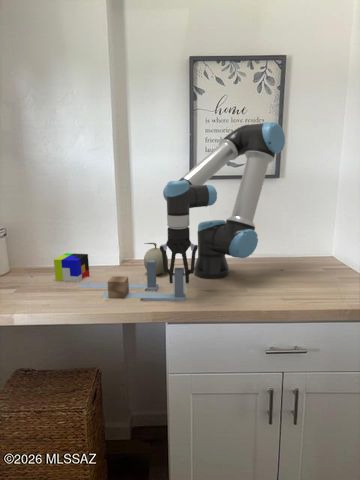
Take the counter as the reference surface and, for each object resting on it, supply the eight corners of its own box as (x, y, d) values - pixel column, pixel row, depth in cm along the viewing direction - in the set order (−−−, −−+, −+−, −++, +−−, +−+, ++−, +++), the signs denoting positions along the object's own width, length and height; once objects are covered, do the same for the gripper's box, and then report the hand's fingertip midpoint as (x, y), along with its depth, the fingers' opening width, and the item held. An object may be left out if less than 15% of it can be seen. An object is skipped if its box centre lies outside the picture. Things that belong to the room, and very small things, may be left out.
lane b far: (120, 285, 139) (120, 283, 138) (117, 290, 134) (117, 287, 134) (83, 285, 140) (83, 283, 140) (79, 289, 135) (78, 287, 135)
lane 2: (185, 295, 127) (185, 266, 125) (184, 301, 122) (184, 271, 120) (104, 294, 130) (102, 266, 127) (100, 299, 125) (98, 270, 122)
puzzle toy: (78, 284, 142) (76, 260, 139) (56, 283, 144) (53, 259, 141) (89, 276, 151) (87, 254, 149) (68, 275, 153) (66, 253, 151)
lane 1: (158, 286, 137) (157, 259, 135) (156, 290, 133) (155, 263, 130) (127, 285, 138) (126, 259, 136) (125, 290, 134) (123, 262, 131)
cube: (128, 291, 129) (128, 276, 128) (125, 298, 123) (124, 282, 122) (113, 291, 130) (112, 276, 128) (108, 297, 124) (107, 281, 123)
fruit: (168, 269, 159) (167, 237, 156) (168, 277, 148) (167, 243, 145) (145, 269, 159) (144, 237, 155) (143, 278, 148) (142, 243, 144)
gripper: (202, 224, 122) (202, 288, 127) (156, 224, 124) (158, 287, 129) (201, 228, 115) (202, 296, 120) (153, 228, 116) (155, 295, 122)
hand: (179, 291), depth 124 cm, fingers closed on lane 2, 3 cm apart
